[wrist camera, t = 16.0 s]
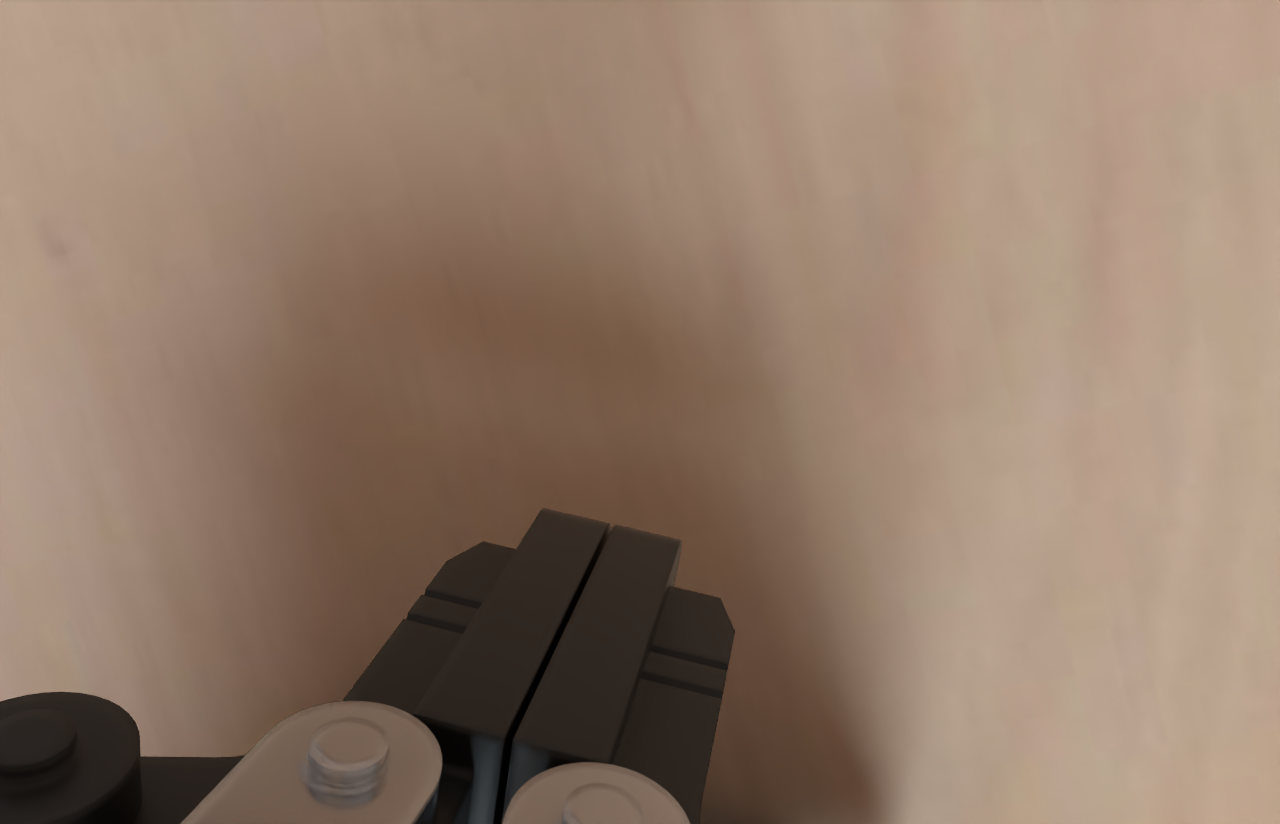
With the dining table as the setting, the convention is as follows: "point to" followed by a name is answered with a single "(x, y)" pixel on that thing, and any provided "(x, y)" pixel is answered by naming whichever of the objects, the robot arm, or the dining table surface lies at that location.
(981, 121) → the dining table surface
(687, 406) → the dining table surface
